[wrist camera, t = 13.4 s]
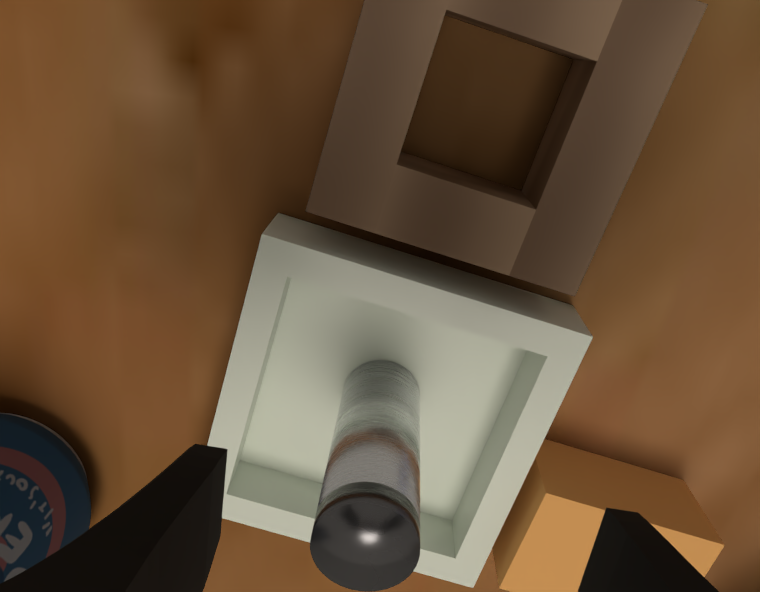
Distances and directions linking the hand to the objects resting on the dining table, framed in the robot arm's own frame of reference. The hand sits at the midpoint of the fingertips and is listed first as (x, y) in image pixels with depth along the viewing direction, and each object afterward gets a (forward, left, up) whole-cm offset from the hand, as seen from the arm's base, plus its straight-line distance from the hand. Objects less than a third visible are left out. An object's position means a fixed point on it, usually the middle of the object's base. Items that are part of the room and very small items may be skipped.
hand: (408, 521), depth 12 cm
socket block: (0, -7, -10) cm, 12 cm away
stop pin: (0, +3, -10) cm, 10 cm away
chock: (-9, +5, -10) cm, 14 cm away
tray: (0, +3, -10) cm, 11 cm away
